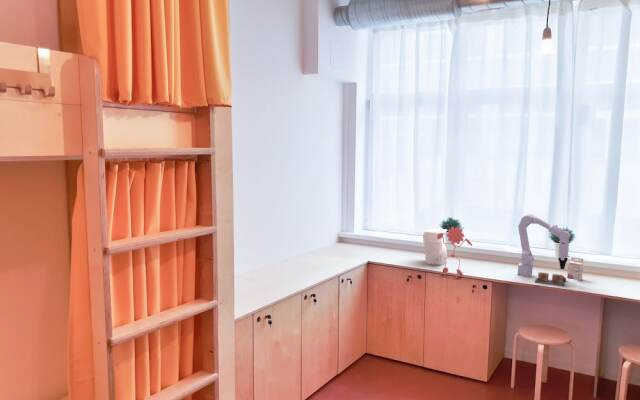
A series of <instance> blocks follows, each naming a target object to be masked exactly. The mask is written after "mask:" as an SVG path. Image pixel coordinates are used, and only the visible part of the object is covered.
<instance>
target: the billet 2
mask: <svg viewBox="0 0 640 400" xmlns="http://www.w3.org/2000/svg"><path fill="white" fill-rule="evenodd" d="M563 276H564V275H563V274H558V273H552V274H551V280H552V283H559V284H562V280H563Z"/></svg>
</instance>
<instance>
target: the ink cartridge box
mask: <svg viewBox="0 0 640 400" xmlns="http://www.w3.org/2000/svg"><path fill="white" fill-rule="evenodd" d="M583 272H584V258H580V257H575V256H570V261H568V266H567V277H566V279H570V280H577V281H582V280H583Z"/></svg>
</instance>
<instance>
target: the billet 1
mask: <svg viewBox="0 0 640 400" xmlns="http://www.w3.org/2000/svg"><path fill="white" fill-rule="evenodd" d="M537 274H538V275H537V278H538V281H544V282H548V280H549V276H550V275H549V272H540V271H539V272H538V273H537Z"/></svg>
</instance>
